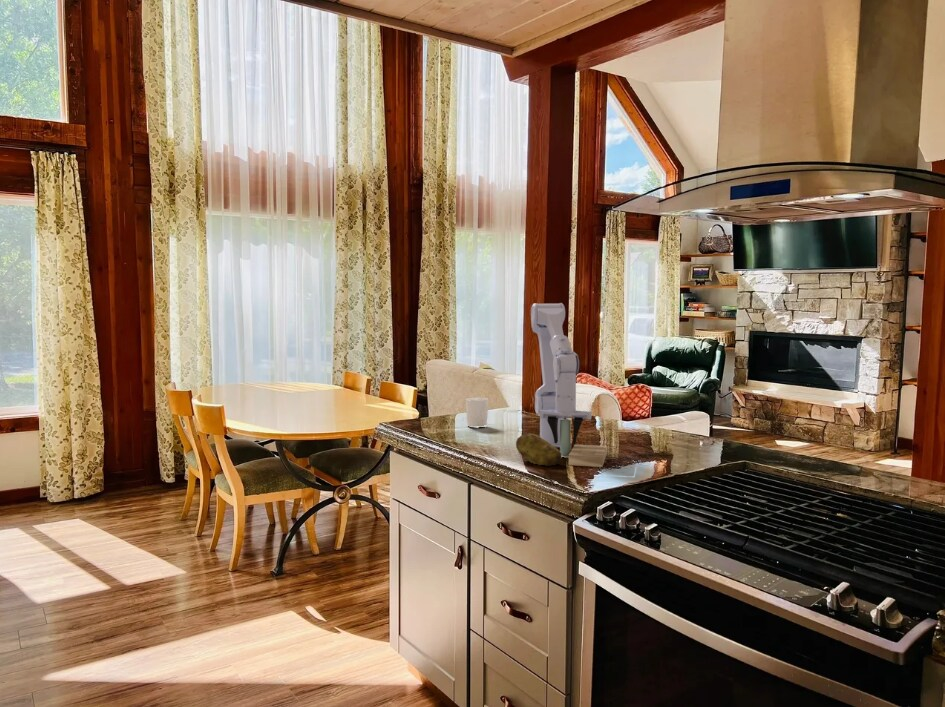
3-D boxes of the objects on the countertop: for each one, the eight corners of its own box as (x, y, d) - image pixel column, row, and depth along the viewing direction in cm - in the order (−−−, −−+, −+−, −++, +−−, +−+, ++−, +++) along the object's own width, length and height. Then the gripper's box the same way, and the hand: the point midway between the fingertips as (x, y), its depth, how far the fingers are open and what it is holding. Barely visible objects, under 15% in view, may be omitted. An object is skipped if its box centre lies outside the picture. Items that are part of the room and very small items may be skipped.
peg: (560, 453, 206) (560, 419, 205) (571, 453, 205) (571, 419, 205) (559, 455, 203) (559, 420, 202) (569, 456, 202) (570, 421, 202)
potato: (542, 470, 187) (542, 440, 186) (511, 461, 197) (511, 433, 197) (565, 466, 192) (565, 436, 191) (533, 457, 202) (533, 429, 202)
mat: (556, 451, 209) (556, 450, 209) (574, 452, 208) (574, 451, 208) (552, 457, 202) (552, 456, 202) (571, 458, 200) (571, 457, 200)
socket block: (574, 454, 206) (574, 444, 205) (606, 456, 203) (606, 446, 203) (568, 465, 192) (568, 454, 192) (602, 467, 190) (602, 456, 190)
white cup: (463, 428, 248) (462, 399, 247) (469, 424, 255) (469, 396, 254) (484, 429, 245) (484, 400, 244) (490, 425, 253) (490, 397, 252)
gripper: (538, 397, 201) (537, 444, 202) (589, 398, 197) (589, 447, 198) (542, 393, 208) (541, 439, 209) (592, 395, 204) (591, 442, 205)
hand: (565, 443), depth 204 cm, fingers open, 5 cm apart
